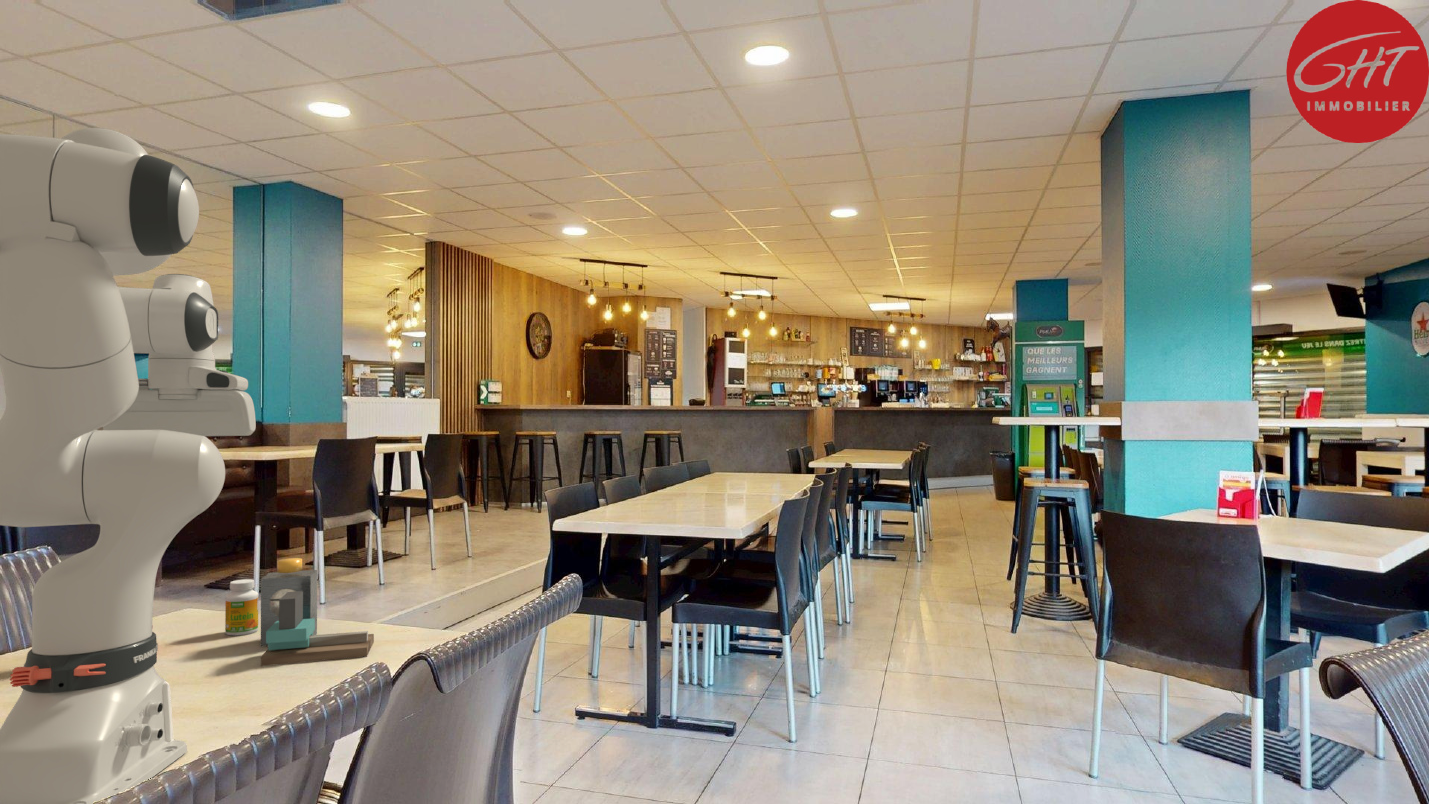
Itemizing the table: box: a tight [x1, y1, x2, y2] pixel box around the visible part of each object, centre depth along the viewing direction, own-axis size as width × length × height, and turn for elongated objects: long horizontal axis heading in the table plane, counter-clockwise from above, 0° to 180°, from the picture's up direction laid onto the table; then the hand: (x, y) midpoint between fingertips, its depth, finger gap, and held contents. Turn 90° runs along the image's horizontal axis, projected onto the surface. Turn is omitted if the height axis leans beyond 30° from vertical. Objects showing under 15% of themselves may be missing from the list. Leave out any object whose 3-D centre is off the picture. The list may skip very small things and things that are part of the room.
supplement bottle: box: [224, 578, 260, 637], centre depth 148 cm, size 5×5×10 cm
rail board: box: [260, 630, 375, 667], centre depth 134 cm, size 9×16×3 cm, turn 107°
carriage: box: [266, 591, 315, 650], centre depth 133 cm, size 7×6×8 cm
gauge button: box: [276, 557, 303, 573], centre depth 143 cm, size 4×4×2 cm
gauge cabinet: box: [260, 569, 318, 648], centre depth 142 cm, size 7×8×12 cm
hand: (181, 465), depth 124 cm, fingers closed
